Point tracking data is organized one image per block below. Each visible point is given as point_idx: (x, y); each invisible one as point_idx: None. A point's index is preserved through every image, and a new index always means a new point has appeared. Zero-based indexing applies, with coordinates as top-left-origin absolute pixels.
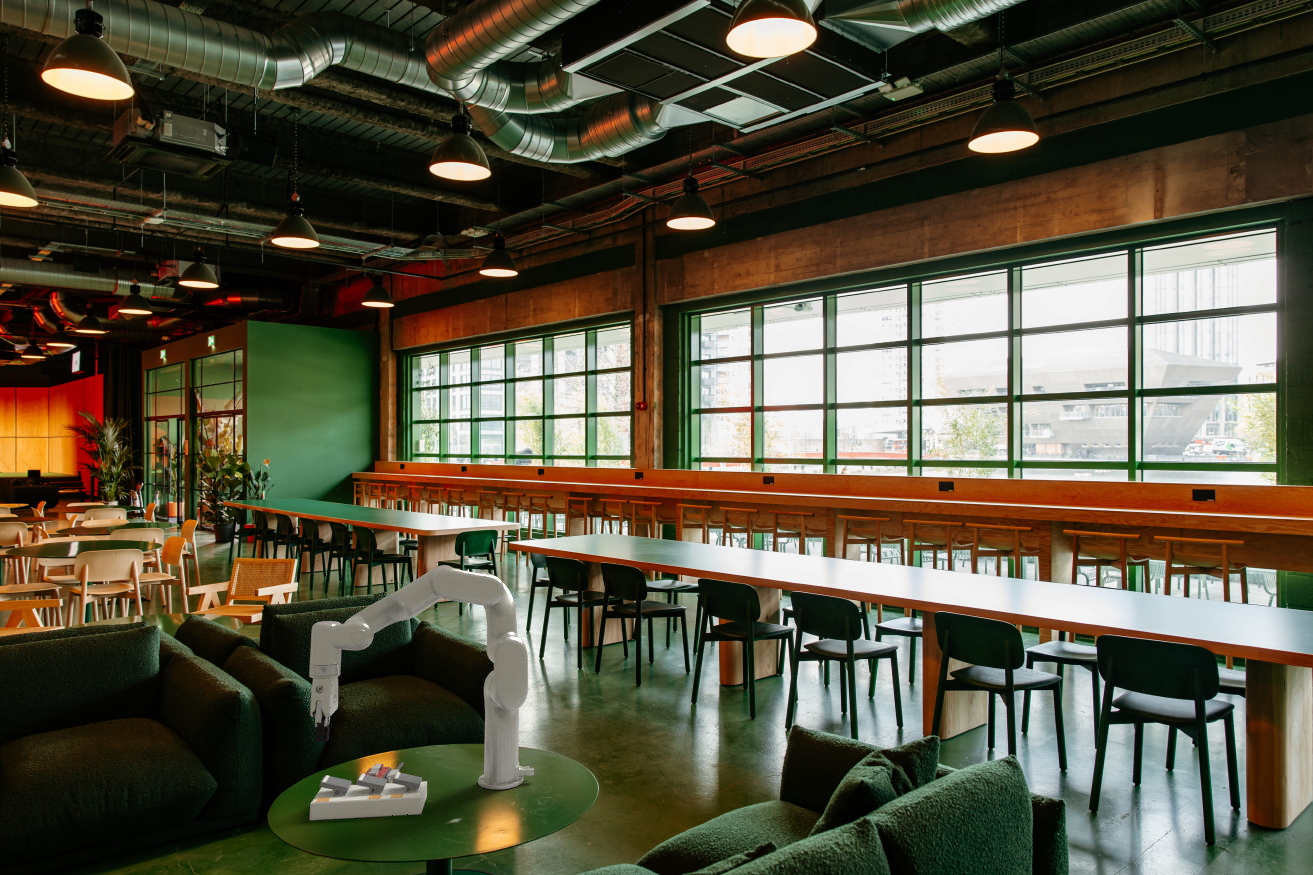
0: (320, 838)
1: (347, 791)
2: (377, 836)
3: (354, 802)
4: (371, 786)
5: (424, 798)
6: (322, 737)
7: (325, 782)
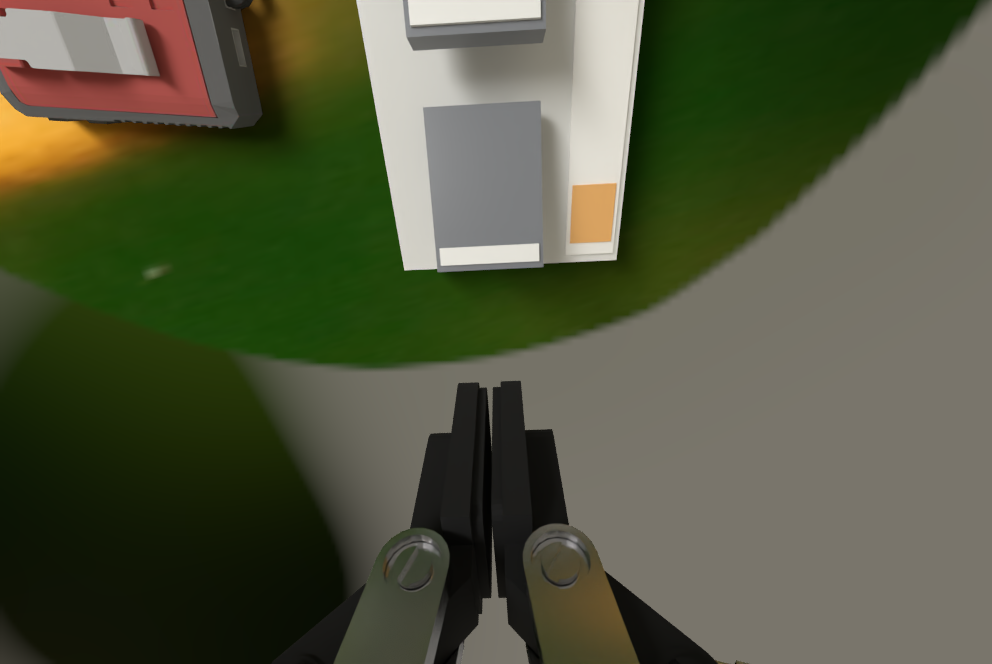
0: (810, 136)
1: None
2: None
3: (640, 25)
4: None
5: None
6: (552, 444)
7: (534, 242)
